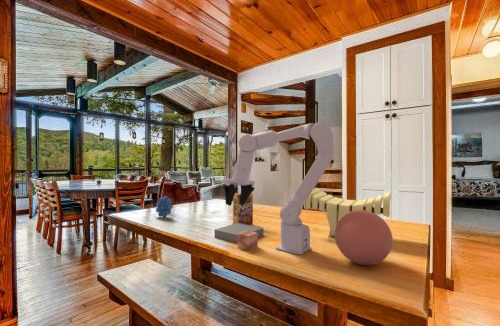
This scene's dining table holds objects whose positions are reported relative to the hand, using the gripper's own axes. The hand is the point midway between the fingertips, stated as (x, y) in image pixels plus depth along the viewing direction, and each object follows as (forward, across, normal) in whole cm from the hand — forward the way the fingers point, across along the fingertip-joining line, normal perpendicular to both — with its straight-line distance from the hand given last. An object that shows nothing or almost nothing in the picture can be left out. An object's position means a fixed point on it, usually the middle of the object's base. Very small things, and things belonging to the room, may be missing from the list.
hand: (235, 204), depth 93 cm
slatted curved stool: (+5, -37, +31) cm, 48 cm away
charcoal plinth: (+14, -9, -2) cm, 17 cm away
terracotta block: (+13, -1, +9) cm, 16 cm away
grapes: (+27, -11, -57) cm, 64 cm away
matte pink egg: (+4, -13, +43) cm, 45 cm away
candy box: (+16, -23, -12) cm, 30 cm away
